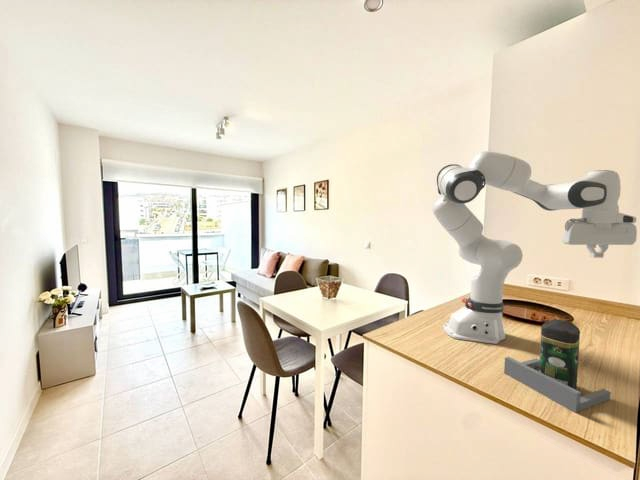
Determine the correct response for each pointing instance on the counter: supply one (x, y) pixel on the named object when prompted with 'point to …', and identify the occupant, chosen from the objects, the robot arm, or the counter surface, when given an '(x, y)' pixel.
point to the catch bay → (552, 386)
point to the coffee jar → (560, 351)
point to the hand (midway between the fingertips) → (596, 257)
